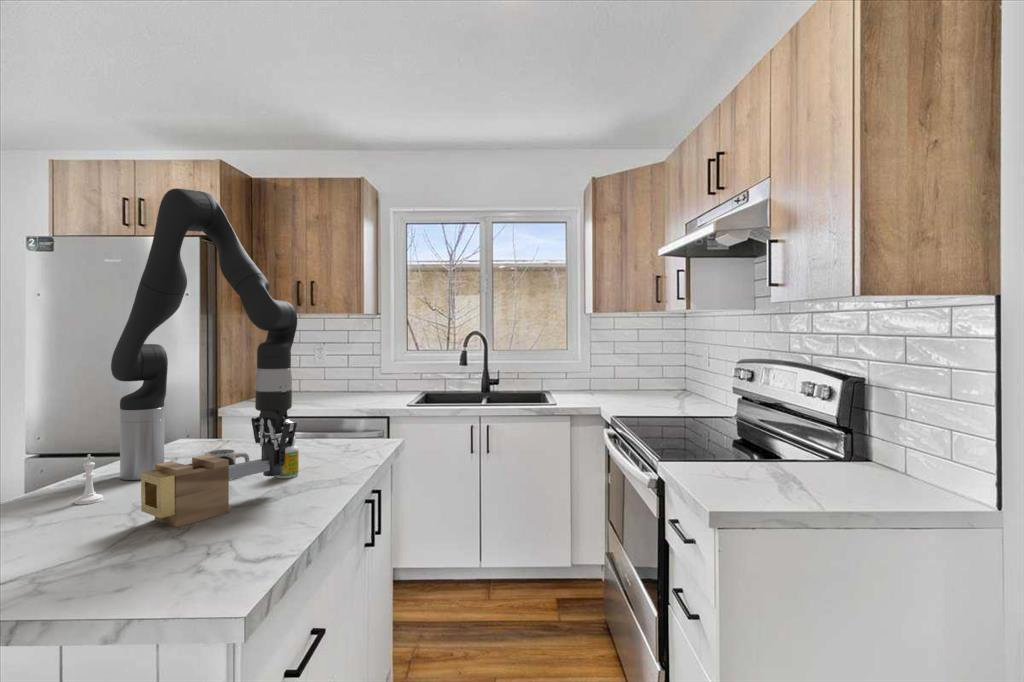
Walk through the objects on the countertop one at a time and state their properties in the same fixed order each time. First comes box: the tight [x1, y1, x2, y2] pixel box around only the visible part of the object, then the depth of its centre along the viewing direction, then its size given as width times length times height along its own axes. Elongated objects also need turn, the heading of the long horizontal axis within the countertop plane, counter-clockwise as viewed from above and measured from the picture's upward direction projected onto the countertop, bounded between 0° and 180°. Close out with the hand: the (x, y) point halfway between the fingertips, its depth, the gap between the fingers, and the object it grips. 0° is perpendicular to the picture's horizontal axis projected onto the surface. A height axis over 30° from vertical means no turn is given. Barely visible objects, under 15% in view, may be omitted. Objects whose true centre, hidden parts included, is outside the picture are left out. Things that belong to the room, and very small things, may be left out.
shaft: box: [229, 441, 283, 481], centre depth 113 cm, size 4×25×7 cm, turn 148°
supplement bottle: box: [275, 436, 300, 479], centre depth 138 cm, size 5×5×10 cm
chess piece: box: [74, 453, 105, 506], centre depth 116 cm, size 5×5×10 cm
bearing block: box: [154, 454, 230, 528], centre depth 107 cm, size 8×10×11 cm
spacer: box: [140, 470, 175, 518], centre depth 102 cm, size 7×2×7 cm, turn 58°
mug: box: [204, 448, 250, 481], centre depth 136 cm, size 10×7×7 cm
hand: (273, 464), depth 122 cm, fingers closed on shaft, 4 cm apart
